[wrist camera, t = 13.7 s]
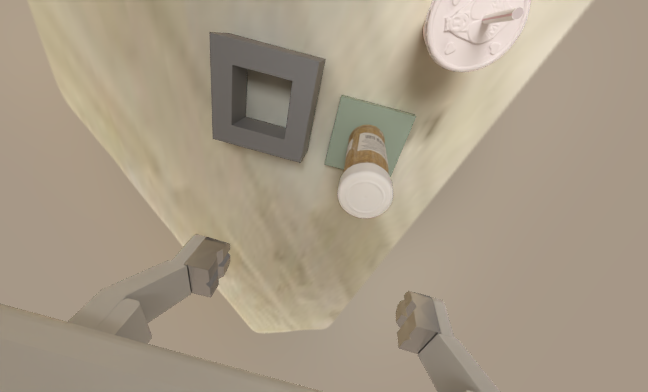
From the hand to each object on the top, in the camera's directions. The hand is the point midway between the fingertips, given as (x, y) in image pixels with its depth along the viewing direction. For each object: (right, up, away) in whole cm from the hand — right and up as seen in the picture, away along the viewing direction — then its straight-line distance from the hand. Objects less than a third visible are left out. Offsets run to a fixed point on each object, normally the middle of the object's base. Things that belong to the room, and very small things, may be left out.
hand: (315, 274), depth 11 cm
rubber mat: (+6, +11, +21) cm, 24 cm away
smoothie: (+12, +21, +14) cm, 28 cm away
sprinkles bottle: (+6, +11, +20) cm, 24 cm away
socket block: (-6, +16, +20) cm, 26 cm away
